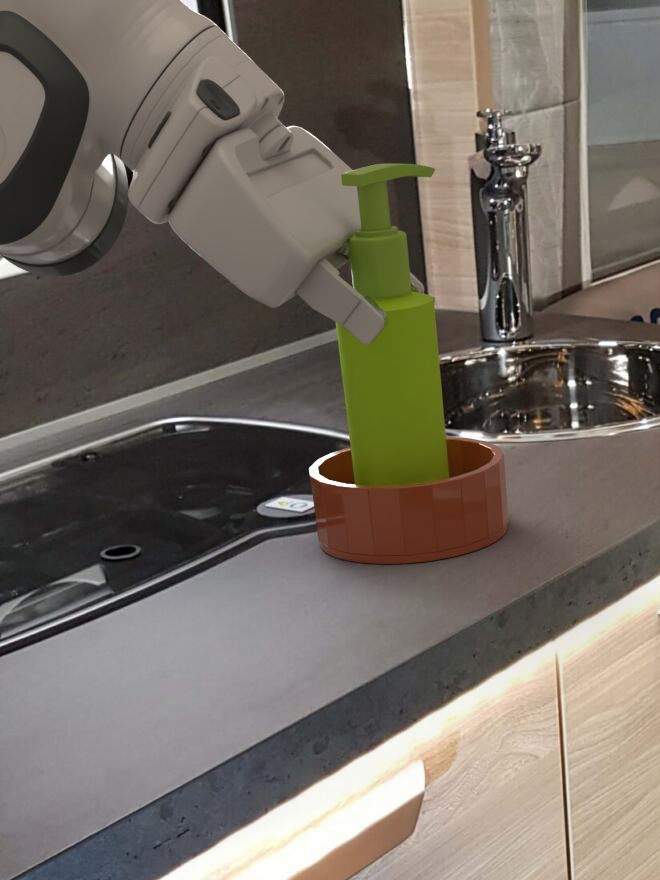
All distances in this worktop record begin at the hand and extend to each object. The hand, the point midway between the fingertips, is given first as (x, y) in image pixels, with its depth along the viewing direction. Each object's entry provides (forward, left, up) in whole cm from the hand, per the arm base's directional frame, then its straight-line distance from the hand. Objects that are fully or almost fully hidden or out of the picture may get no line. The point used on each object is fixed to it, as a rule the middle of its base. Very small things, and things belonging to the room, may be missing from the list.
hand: (398, 317), depth 91 cm
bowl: (0, 0, -13) cm, 13 cm away
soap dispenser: (0, 0, -12) cm, 12 cm away
